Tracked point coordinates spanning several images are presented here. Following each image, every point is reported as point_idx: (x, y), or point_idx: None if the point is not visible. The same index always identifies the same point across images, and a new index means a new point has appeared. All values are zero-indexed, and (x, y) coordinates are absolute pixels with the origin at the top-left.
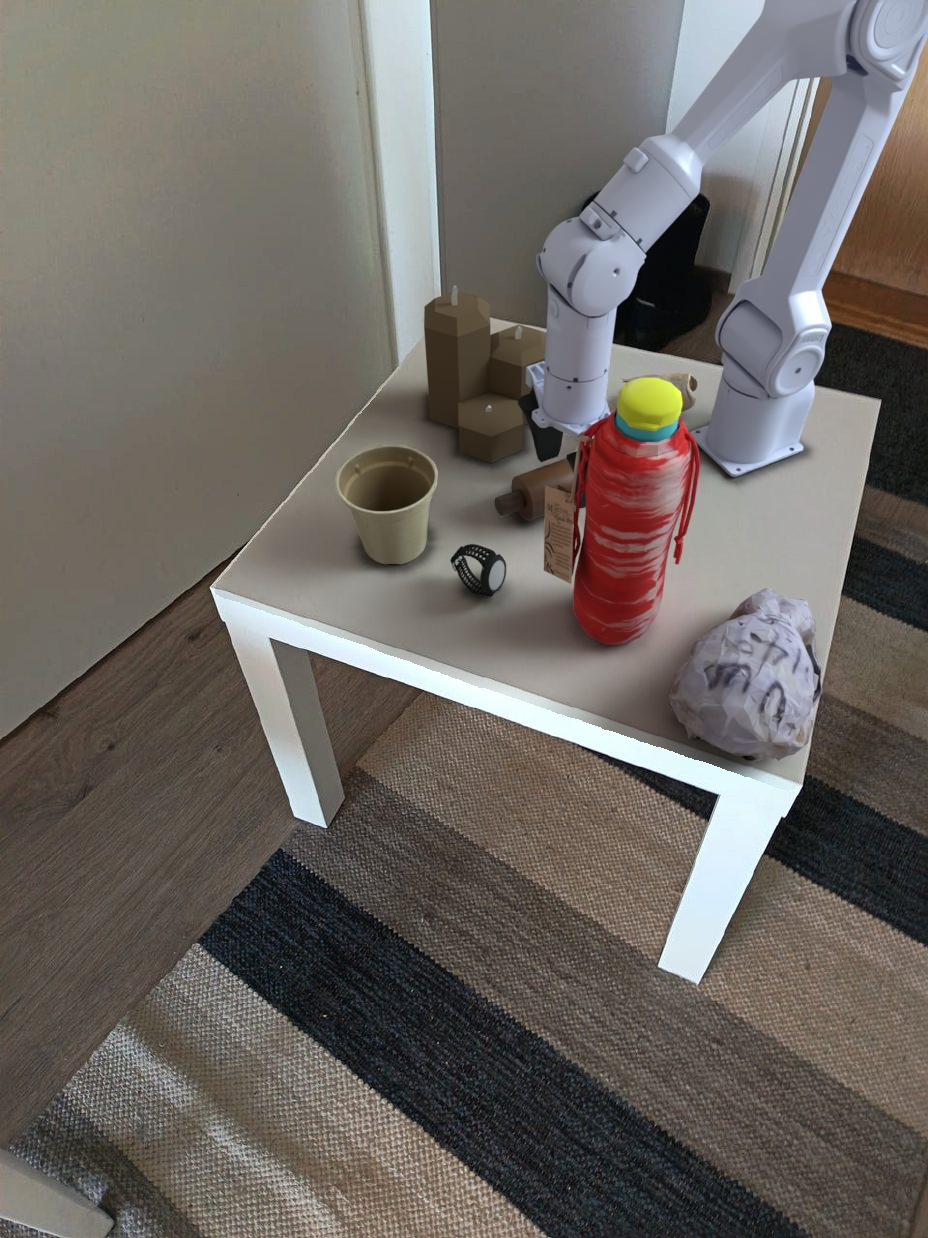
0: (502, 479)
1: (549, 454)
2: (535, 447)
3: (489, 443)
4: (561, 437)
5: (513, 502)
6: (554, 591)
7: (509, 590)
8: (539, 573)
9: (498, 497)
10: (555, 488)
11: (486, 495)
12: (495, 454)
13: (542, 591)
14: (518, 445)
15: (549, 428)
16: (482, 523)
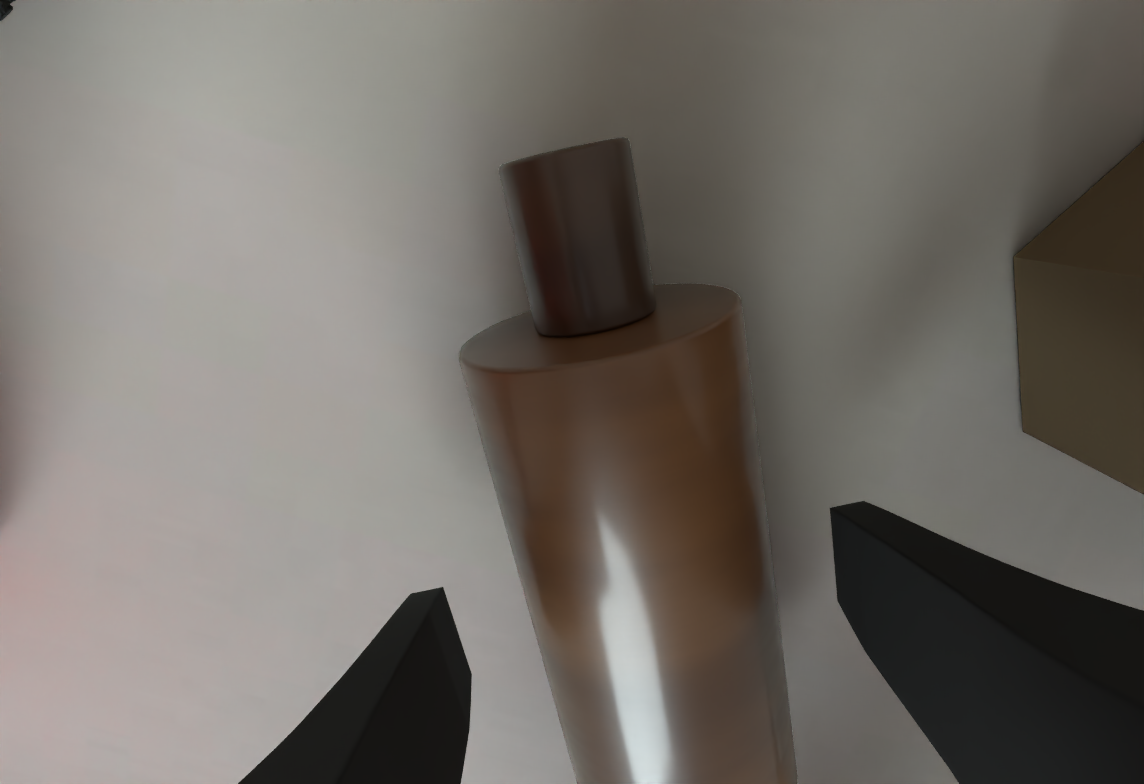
0: (872, 277)
1: (850, 575)
2: (916, 533)
3: (1141, 263)
4: (911, 709)
5: (531, 249)
6: (36, 299)
7: (47, 65)
8: (165, 264)
9: (589, 153)
10: (530, 534)
11: (792, 156)
12: (1050, 287)
13: (37, 241)
14: (1052, 424)
15: (990, 726)
16: (588, 65)
